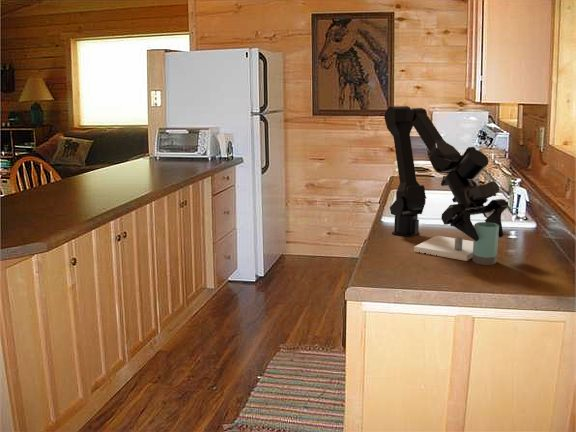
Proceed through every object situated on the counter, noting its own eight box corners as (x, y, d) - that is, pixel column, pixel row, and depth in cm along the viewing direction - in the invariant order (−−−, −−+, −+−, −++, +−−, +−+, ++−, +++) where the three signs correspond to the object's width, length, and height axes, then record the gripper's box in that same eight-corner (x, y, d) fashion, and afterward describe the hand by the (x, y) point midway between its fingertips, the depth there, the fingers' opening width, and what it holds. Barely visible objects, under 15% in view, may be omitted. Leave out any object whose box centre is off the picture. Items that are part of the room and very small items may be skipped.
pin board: (414, 251, 171) (414, 234, 170) (436, 240, 183) (437, 224, 182) (466, 260, 162) (467, 242, 161) (486, 248, 174) (487, 231, 173)
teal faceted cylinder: (470, 262, 161) (472, 225, 159) (477, 257, 165) (480, 221, 163) (491, 266, 158) (494, 228, 155) (498, 261, 162) (501, 224, 160)
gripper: (451, 173, 156) (479, 225, 149) (505, 168, 164) (535, 217, 157) (429, 199, 164) (455, 249, 157) (482, 193, 172) (509, 240, 165)
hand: (489, 238), depth 159 cm, fingers open, 8 cm apart
